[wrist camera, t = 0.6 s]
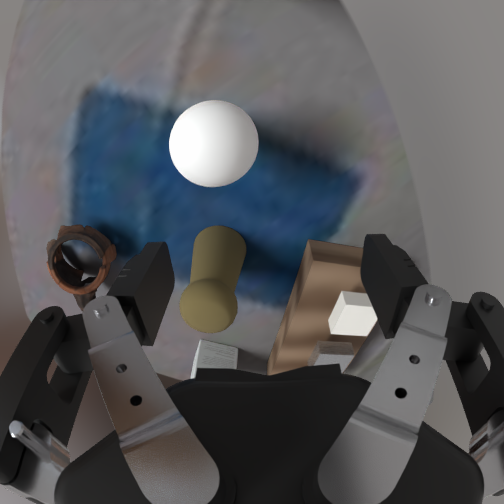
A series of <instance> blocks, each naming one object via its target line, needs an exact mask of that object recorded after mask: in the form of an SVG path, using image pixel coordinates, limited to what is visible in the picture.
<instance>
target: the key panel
mask: <svg viewBox="0 0 504 504" xmlns="http://www.w3.org/2000/svg"><path fill="white" fill-rule="evenodd" d="M362 255H363V248H358V247H352V246H346V245H340V244H334V243H328V242H322V241H316V240H310V239H308V242H307V245H306V248H305V252H304V255H303V258H302V261H301V264H300V268H299V271H298V274H297V277H296V280H295V283H294V286H293V289H292V293H291V296H290V299H289V302H288V305H287V308H286V311H285V314H284V317H283V320H282V322H281V325H280V328H279V331H278V334H277V337H276V340H275V343H274V345H273V348H272V351H271V354H270V357H269V359H268V362H267V375H273V374H277V373H281V372H285V371H289V370H293V369H297V368H300V367H304V366H308V362H307V361H308V359H309V357H310V356H311V354H312V352H313V350H314V348H315V346H316V344H317V342H318V341H332V342H349V343H352V347H353V351H354V355H356V354H357V352H358V351H359V349H360V348H361V346H362V345H363V343H364V342H365V340H366V338H367V337H368V335H369V334H370V332H371V331H370V332H369V334H368V335H367V336H354V335H339V334H331V332H330V327H329V322H328V319H329V317H330V315H331V313H332V311H333V309H334V307H335V305H336V302H337V300H338V298H339V296H340V294H341V291H348V292H356V293H365V294H367V293H366V291H365V288H364V286H363V284H362V281H361V275H360V268H361V261H362ZM377 321H378V319H377ZM377 321H376V322H377ZM376 322H375V324H376ZM375 324H374V326H375ZM374 326H373V327H374ZM373 327H372V329H373ZM372 329H371V330H372ZM354 357H355V356H354ZM354 357H353V358H354ZM352 360H353V359H352ZM352 360H351V361H352ZM351 361H350V363H351ZM350 363H349V364H350ZM349 364H348V366H349ZM348 366H347V367H348ZM347 367H346V368H347ZM345 370H346V369H345ZM345 370H344V371H345ZM343 373H344V372H343ZM343 373H342V374H343Z"/></svg>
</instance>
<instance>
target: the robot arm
mask: <svg viewBox="0 0 504 504" xmlns="http://www.w3.org/2000/svg"><path fill="white" fill-rule="evenodd" d="M360 275H361V281H362V284H363V286H364V288H365V291H366V293H367V295H368V297H369V300H370V302H371V304H372V307H373V309H374V312H375V314H376V316H377V319H378V321H379V324H380V326H381V329H382V331H383V334H384V336H385V339H390V338H394V340H393V342H392V344H391V346H390V348H389V350H388V352H387V354H386V356H385V358H384V360H383V362H382V364H381V366H380V368H379V370H378V372H377V374H376V376H375V378H374V380H373V382H372V383H371V382H369V381H367V380H365V379H362V378H359V377H356V376H353V375H348V374H342V372H341V368H340V363H338V364H327V365H315V366H304V367H300V368H297V369H293V370H289V371H285V372H281V373H277V374H273V375H262V374H257V373H251V372H246V371H241V370H237V369H232V368H197V371H196V377H195V378H192V379H188V380H184V381H182V382H179V383H176V384H174V385H172V386H170V387H168V388H167V389H165V388H164V387H163V385H162V383H161V382H160V380H159V378H158V376H157V374H156V373H155V371H154V369H153V367H152V366H151V364H150V362H149V360H148V358H147V356H146V355H145V353H144V351H143V349H142V345H145V346H153V344H154V341H155V339H156V336H157V333H158V330H159V327H160V324H161V322H162V319H163V316H164V313H165V310H166V308H167V305H168V302H169V300H170V297H171V294H172V292H173V289H174V283H175V278H174V272H173V268H172V263H171V259H170V254H169V250H168V246H167V244H166V242H149V243H147V244H146V245H145V247H144V248H143V250H142V251H141V253H140V255H135V256H134V257H133V258H132V259H130V260H129V261H128V262H127V263H126V265H125V266H124V268H123V271H121V273H120V274H119V277H117V279H116V280H115V282H114V284H113V285H112V287H111V288H110V290H109V292H108V293H107V295H106V296H101V297H98V298H96V299H93V300H92V301H90V302H89V303H88V304H87V305H86V306H85V307H84V309H83V312H82V314H78V315H73V316H68V317H66V315H65V313H64V311H63V309H62V308H61V307H58V306H51V307H48V308H46V309H44V310H42V311H41V312H39V313H38V314H37V315H36V317H35V318H34V319H33V321H32V323H31V324H30V326H29V327H28V329H27V331H26V332H25V334H24V336H23V337H22V339H21V340H20V342H19V344H18V346H17V347H16V349H15V351H14V352H13V354H12V356H11V358H10V359H9V361H8V363H7V365H6V367H5V369H4V371H3V372H2V374H1V376H0V485H1V486H3V487H4V488H6V489H8V490H10V491H11V492H13V493H15V494H17V495H19V496H21V497H24V498H26V499H28V500H30V501H32V502H34V503H36V504H482V500H483V499H484V498H486V497H489V496H490V495H493V496H499V495H502V494H504V308H503V306H502V305H501V303H500V302H499V301H498V300H497V299H496V298H495V297H494V296H492V295H490V294H488V293H485V292H476V293H474V294H473V295H472V297H471V299H470V301H469V303H462V302H454V301H452V299H451V297H450V295H449V294H448V293H447V292H446V291H445V290H444V289H442V288H440V287H438V286H435V285H431V284H428V282H427V281H426V280H425V278H424V277H423V275H422V274H421V272H420V271H419V270H418V268H417V267H415V264H414V263H413V261H411V258H410V257H409V256H408V254H407V253H406V252H405V251H404V250H402V249H401V248H399V247H398V246H397V245H393V244H392V243H391V242H390V240H389V239H388V238H387V236H386V235H385V234H367V235H366V237H365V241H364V248H363V255H362V261H361V268H360ZM483 347H484V348H485V350H486V351H487V354H488V355H489V358H490V362H491V366H490V370H489V371H488V369H487V367H486V364H485V362H484V360H483V358H482V356H481V354H480V352H481V351H482V349H483ZM53 359H54V360H55V362H56V363H57V365H58V366H57V368H56V370H55V372H54V374H53V377H52V379H51V381H50V384H48V382H47V371H48V368H49V366H50V364H51V362H52V360H53ZM442 360H446V362H447V365H448V367H449V370H450V372H451V375H452V377H453V380H454V383H455V385H456V388H457V391H458V393H459V396H460V399H461V402H462V405H463V408H464V411H465V414H466V417H467V420H468V423H469V426H470V429H471V433H472V438H471V441H470V444H469V453H466V452H465V451H464V450H462V449H461V448H459V447H458V446H457V445H455V444H454V443H452V442H451V441H450V440H448V439H447V438H445V437H444V436H443V435H441V434H440V433H439V432H437V431H436V430H435V429H433V428H432V427H430V426H429V425H427V424H426V423H425V422H424V421H423V418H424V415H425V412H426V409H427V407H428V404H429V402H430V399H431V396H432V393H433V390H434V387H435V384H436V380H437V377H438V373H439V370H440V367H441V363H442ZM92 370H94V373H95V376H96V379H97V382H98V385H99V388H100V391H101V393H102V396H103V399H104V402H105V405H106V407H107V410H108V412H109V415H110V417H111V420H112V422H113V425H114V427H115V430H114V431H112V432H111V433H110V434H109V435H107V436H106V437H105V438H103V439H102V440H101V441H99V442H98V443H97V444H95V445H94V446H93V447H92V448H90V449H89V450H88V451H86V452H85V453H84V454H82V455H81V456H80V457H78V458H77V459H75V461H73V462H70V454H69V451H68V449H67V445H68V441H69V438H70V435H71V431H72V428H73V425H74V422H75V418H76V415H77V412H78V409H79V406H80V403H81V400H82V398H83V395H84V392H85V389H86V386H87V384H88V381H89V378H90V375H91V373H92Z"/></svg>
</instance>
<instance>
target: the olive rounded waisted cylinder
mask: <svg viewBox="0 0 504 504" xmlns="http://www.w3.org/2000/svg"><path fill="white" fill-rule="evenodd" d="M245 255H246V244H245V241H244V239H243V238H242V236H241V235H240V234H239V233H238V232H236V231H235V230H233V229H232V228H229V227H225V226H212V227H208V228H206V229H204V230H203V231H201V232H200V233H199V234H198V236H197V237H196V238H195V242H194V248H193V258H192V268H191V279H190V284H189V285H188V286H187V288H186V289H185V290H184V292H183V293H182V296H181V299H180V312H181V315H182V317H183V319H184V321H185V322H186V323H187V324H188V325H189V326H190V327H191V328H193V329H195V330H197V331H201V332H204V333H216V332H221V331H223V330H225V329H226V328H228V327H229V326H230V325H231V324H232V323H233V321H234V319H235V317H236V315H237V309H238V307H237V299H236V296H235V294H234V291H235V288H236V285H237V281H238V278H239V275H240V272H241V268H242V265H243V262H244V259H245Z"/></svg>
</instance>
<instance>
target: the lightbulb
mask: <svg viewBox="0 0 504 504" xmlns="http://www.w3.org/2000/svg"><path fill="white" fill-rule="evenodd" d="M258 143H259V141H258V133H257V130H256V127H255V124H254V123H253V121H252V119H251V118H250V117H249V115H248V114H247V113H246V112H245V111H244V110H242V109H241V108H239V107H238V106H236V105H234V104H232V103H229V102H225V101H221V100H210V101H204V102H201V103H198V104H196V105H193V106H192V107H190V108H189V109H187V110H186V111H185V112H184V113H182V114H181V115H180V116H179V118H178V119H177V121H176V122H175V124H174V126H173V129H172V131H171V135H170V140H169V150H170V154H171V158H172V161H173V163H174V165H175V167H176V168H177V170H178V171H179V172H180V173H181V174H182V175H183V176H184V177H185V178H186V179H188V180H189V181H191V182H193V183H195V184H198V185H201V186H205V187H218V186H224V185H227V184H230V183H233V182H234V181H236V180H238V179H239V178H241V177H242V176H243V175H244V174H245V173H246V172H247V171H248V170H249V169H250V168H251V166H252V164H253V163H254V161H255V159H256V155H257V152H258Z"/></svg>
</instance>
